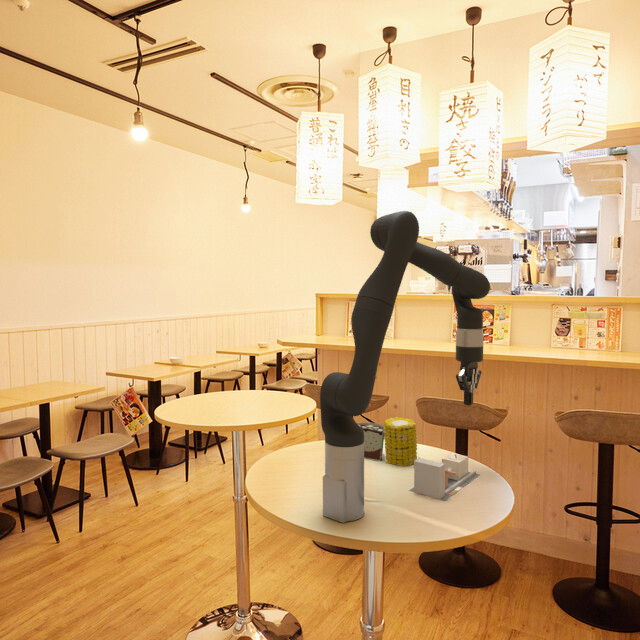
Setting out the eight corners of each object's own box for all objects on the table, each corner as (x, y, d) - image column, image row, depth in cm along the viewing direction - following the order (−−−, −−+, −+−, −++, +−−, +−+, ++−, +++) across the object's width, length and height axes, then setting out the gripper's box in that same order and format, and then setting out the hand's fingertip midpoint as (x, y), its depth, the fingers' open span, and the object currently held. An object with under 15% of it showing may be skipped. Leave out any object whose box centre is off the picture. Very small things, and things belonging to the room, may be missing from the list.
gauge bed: (445, 506, 119) (445, 468, 119) (408, 496, 125) (409, 459, 125) (480, 479, 136) (480, 446, 135) (446, 471, 142) (446, 439, 142)
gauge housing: (454, 484, 129) (454, 464, 128) (436, 479, 132) (436, 460, 132) (468, 474, 136) (468, 455, 135) (451, 470, 139) (451, 451, 138)
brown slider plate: (455, 491, 124) (455, 472, 123) (429, 485, 128) (430, 466, 128) (457, 490, 125) (457, 471, 124) (432, 483, 129) (432, 465, 129)
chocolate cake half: (392, 456, 156) (392, 425, 156) (384, 462, 151) (384, 430, 150) (358, 449, 163) (358, 420, 162) (349, 455, 157) (349, 424, 157)
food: (420, 468, 150) (405, 480, 142) (387, 452, 156) (371, 462, 148) (430, 422, 146) (415, 432, 138) (396, 408, 153) (379, 416, 145)
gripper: (472, 347, 132) (471, 410, 133) (491, 343, 142) (490, 402, 143) (446, 345, 137) (446, 406, 138) (466, 342, 147) (465, 399, 148)
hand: (468, 404), depth 140 cm, fingers closed
